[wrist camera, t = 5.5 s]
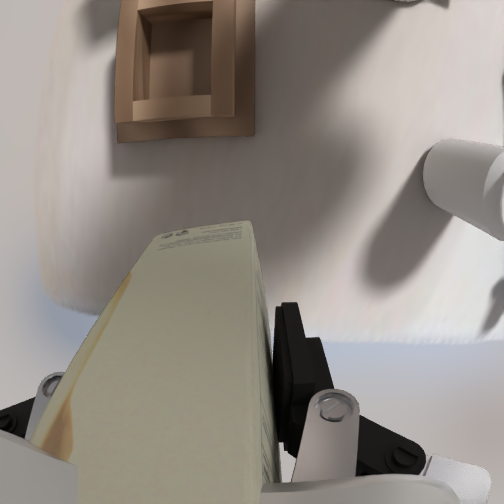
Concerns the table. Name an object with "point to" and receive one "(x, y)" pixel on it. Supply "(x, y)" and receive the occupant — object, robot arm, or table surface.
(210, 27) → the slotted stand
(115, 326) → the skincare box
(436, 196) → the can
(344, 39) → the table surface
